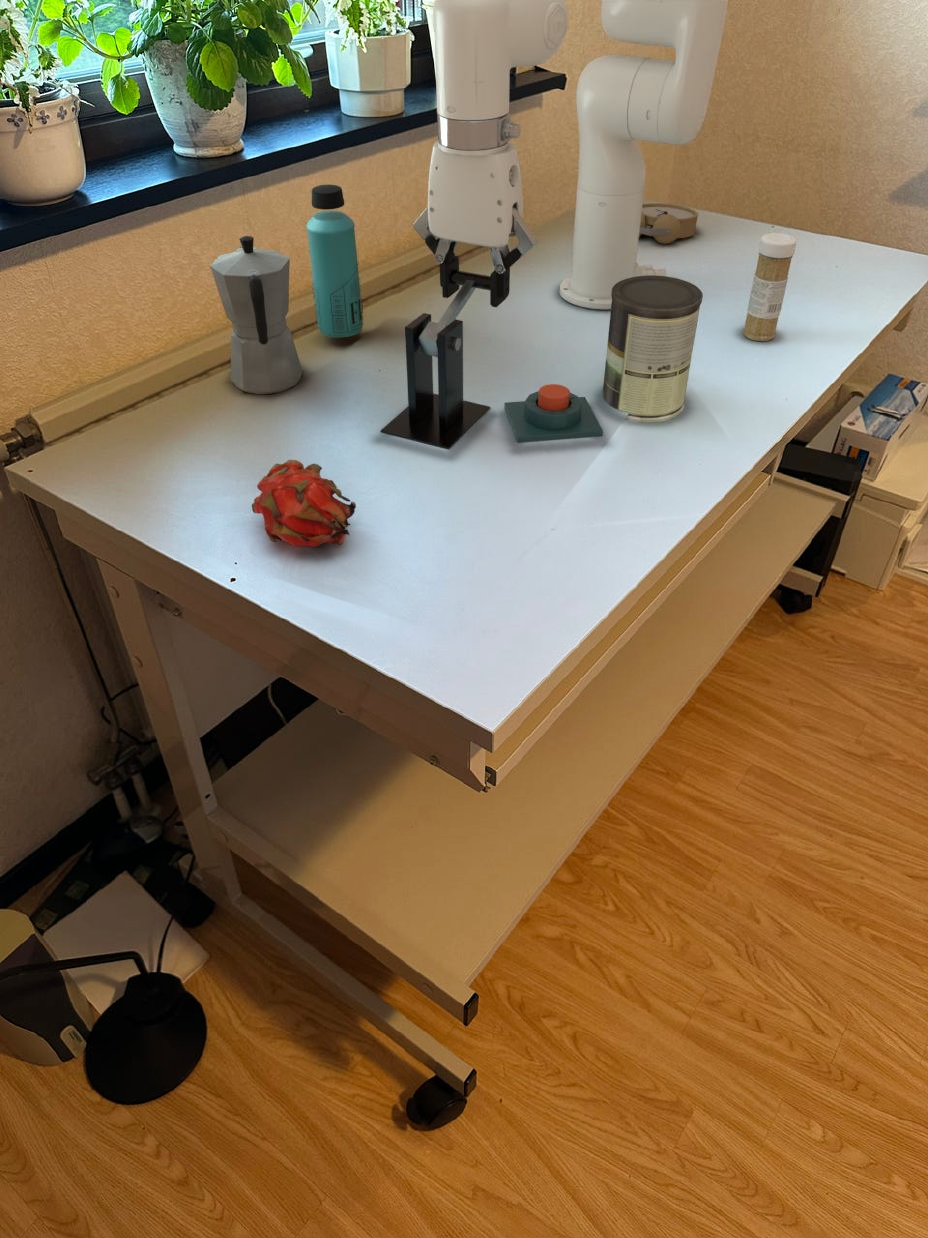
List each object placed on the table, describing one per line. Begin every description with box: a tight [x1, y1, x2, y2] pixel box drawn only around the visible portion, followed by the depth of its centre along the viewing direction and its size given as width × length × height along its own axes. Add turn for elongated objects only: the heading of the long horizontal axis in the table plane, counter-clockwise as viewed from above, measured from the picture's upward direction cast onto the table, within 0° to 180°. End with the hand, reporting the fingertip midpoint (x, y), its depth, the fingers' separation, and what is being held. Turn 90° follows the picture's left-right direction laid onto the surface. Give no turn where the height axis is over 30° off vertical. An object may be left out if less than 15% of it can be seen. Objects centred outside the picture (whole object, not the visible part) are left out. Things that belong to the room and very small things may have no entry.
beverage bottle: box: [305, 184, 365, 339], centre depth 124 cm, size 6×7×20 cm
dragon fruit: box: [251, 459, 357, 548], centre depth 92 cm, size 8×8×12 cm
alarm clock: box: [639, 202, 699, 245], centre depth 162 cm, size 11×5×15 cm
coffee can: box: [602, 275, 704, 423], centre depth 111 cm, size 10×10×14 cm
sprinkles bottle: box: [742, 232, 797, 342], centre depth 127 cm, size 5×5×13 cm
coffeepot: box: [209, 235, 304, 395], centre depth 114 cm, size 15×9×18 cm, turn 15°
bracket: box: [379, 312, 491, 450], centre depth 107 cm, size 11×9×13 cm
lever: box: [419, 269, 490, 358], centre depth 106 cm, size 13×6×2 cm, turn 153°
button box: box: [503, 390, 604, 444], centre depth 110 cm, size 10×8×4 cm
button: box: [538, 383, 571, 411], centre depth 108 cm, size 4×4×2 cm
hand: (474, 296), depth 110 cm, fingers closed on lever, 5 cm apart
